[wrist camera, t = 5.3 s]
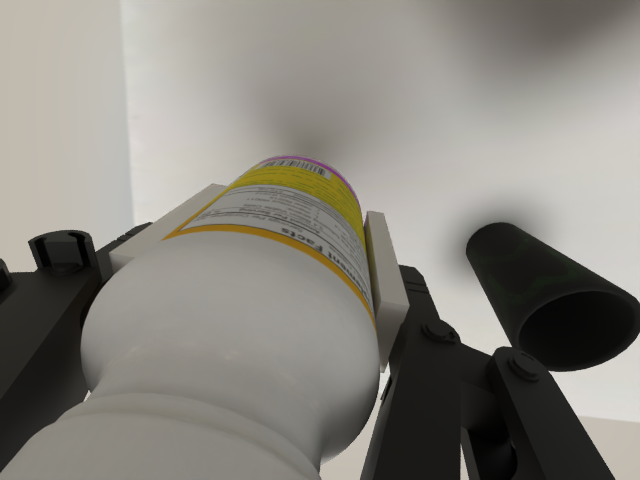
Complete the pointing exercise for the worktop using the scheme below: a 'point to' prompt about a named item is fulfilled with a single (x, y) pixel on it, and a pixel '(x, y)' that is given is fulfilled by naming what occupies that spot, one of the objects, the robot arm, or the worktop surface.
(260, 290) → the supplement bottle
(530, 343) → the cup
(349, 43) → the worktop surface
